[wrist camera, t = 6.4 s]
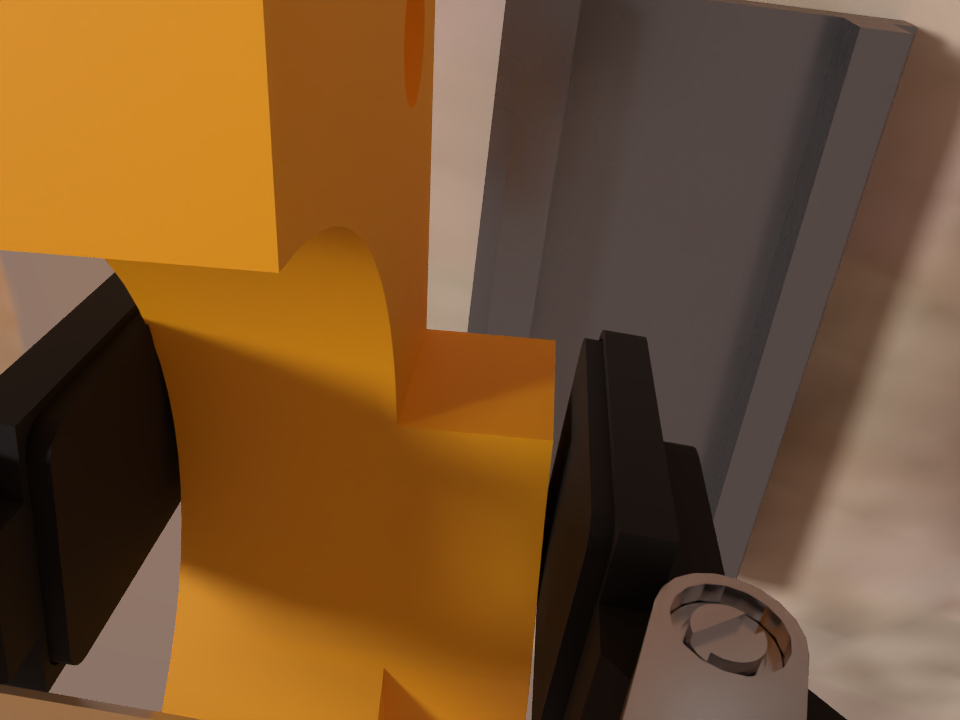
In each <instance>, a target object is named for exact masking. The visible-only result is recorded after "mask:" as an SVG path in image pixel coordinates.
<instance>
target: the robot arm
mask: <svg viewBox="0 0 960 720" xmlns="http://www.w3.org/2000/svg"><path fill="white" fill-rule="evenodd" d="M180 501H181V483H180V470H179V457H178V448H177V441H176V433H175V426H174V420H173V414H172V409H171V404H170V399H169V394H168V390H167V386H166V382H165V379H164V375H163V371H162V367H161V364H160V361H159V358H158V355H157V352H156V349H155V346H154V342H153V337H152V334H151V331H150V327H149V325H147V324H145V322H144V320H143V318H142V315H141V313H140V311H139V309H138V307H137V305H136V304H135V302H134V300H133V299H132V297H131V295H130V293H129V292H128V290H127V288H126V287H125V285H124V283H123V282H122V281H121V279H120V278H119V277H118V275H117V274H116V273H114V274H113V275H111V276H110V277H109V278H108V279H107V280H106V281H105V282H104V283H102V284H101V285H100V286H99V287H98V288H97V289H96V290H95V291H94V292H92V293H91V294H90V295H89V296H88V297H87V298H86V299H85V300H83V301H82V302H81V303H80V304H79V305H78V306H77V307H76V308H75V309H74V310H72V311H71V312H70V313H69V314H68V315H67V316H66V317H65V318H63V319H62V320H61V321H60V322H59V323H58V324H57V325H56V326H55V327H53V328H52V329H51V330H50V331H49V332H48V333H47V334H46V335H44V336H43V337H42V338H41V339H40V340H39V341H38V342H37V343H36V344H34V345H33V346H32V347H31V348H30V349H29V350H28V351H27V352H26V353H24V354H23V355H22V356H21V357H20V358H19V359H18V360H17V361H16V362H14V363H13V364H12V365H11V366H10V367H9V368H8V369H7V370H5V371H4V372H3V373H2V374H1V375H0V720H202V719H196V718H190V717H185V716H179V715H173V714H168V713H162V712H156V711H150V710H145V709H138V708H133V707H128V706H122V705H115V704H110V703H105V702H99V701H93V700H88V699H81V698H76V697H70V696H64V695H59V694H53V693H48V692H49V690H50V689H51V687H52V686H53V684H54V682H55V681H56V679H57V678H58V676H59V674H60V673H61V671H62V670H63V668H64V666H65V665H66V664H70V665H78V664H80V663H81V662H82V661H83V660H84V658H85V657H86V655H87V654H88V652H89V650H90V649H91V647H92V646H93V644H94V642H95V641H96V639H97V637H98V636H99V634H100V632H101V631H102V629H103V628H104V626H105V624H106V623H107V621H108V619H109V618H110V616H111V614H112V613H113V611H114V610H115V608H116V606H117V605H118V603H119V601H120V600H121V598H122V596H123V595H124V593H125V591H126V590H127V588H128V587H129V585H130V583H131V581H132V580H133V578H134V577H135V575H136V574H137V572H138V570H139V569H140V567H141V565H142V564H143V562H144V560H145V559H146V557H147V555H148V554H149V552H150V550H151V549H152V547H153V545H154V544H155V542H156V541H157V539H158V537H159V536H160V534H161V532H162V531H163V529H164V528H165V526H166V524H167V522H168V521H169V519H170V518H171V516H172V514H173V513H174V511H175V509H176V508H177V506H178V505H179V503H180ZM808 676H809V651H808V645H807V640H806V637H805V635H804V633H803V631H802V629H801V628H800V626H799V624H798V622H797V621H796V619H795V618H794V617H793V616H792V615H791V614H790V613H789V612H788V611H787V610H786V609H785V608H784V607H783V606H782V604H781V603H779V602H778V601H777V600H775V599H774V598H772V597H771V596H769V595H768V594H766V593H765V592H764V591H762V590H761V589H759V588H757V587H754V586H752V585H750V584H748V583H746V582H743V581H741V580H739V579H736V578H731V577H727V576H725V573H724V568H723V564H722V559H721V555H720V550H719V546H718V541H717V536H716V532H715V527H714V523H713V518H712V513H711V509H710V504H709V500H708V495H707V491H706V486H705V481H704V477H703V472H702V468H701V463H700V458H699V455H698V452H697V449H696V448H695V447H693V446H689V445H683V444H677V443H672V442H666V441H663V435H662V429H661V423H660V416H659V410H658V404H657V398H656V392H655V386H654V379H653V373H652V367H651V361H650V355H649V349H648V342H647V339H646V337H643V336H637V335H631V334H625V333H620V332H614V331H608V330H602V332H601V334H600V337H599V340H594V339H589V338H584V340H583V343H582V346H581V350H580V354H579V358H578V363H577V367H576V371H575V375H574V380H573V384H572V388H571V392H570V397H569V401H568V405H567V410H566V414H565V418H564V422H563V427H562V431H561V435H560V440H559V444H558V448H557V452H556V457H555V461H554V465H553V469H552V474H551V478H550V482H549V487H548V492H547V502H546V512H545V521H544V531H543V541H542V552H541V562H540V573H539V583H538V594H537V612H536V635H535V657H534V679H533V701H532V720H847V719H845V718H844V717H843V716H842V715H840V714H839V713H838V712H837V711H835V710H834V709H833V708H832V707H830V706H829V705H828V704H827V703H825V702H824V701H823V700H821V699H820V698H819V697H818V696H816V695H815V694H814V693H813V692H811V691H810V690H809V689H808Z"/></svg>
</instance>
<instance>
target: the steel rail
mask: <svg viewBox="0 0 960 720" xmlns="http://www.w3.org/2000/svg"><path fill="white" fill-rule="evenodd" d="M916 29H917V27H916V26H914V25H912V24H910V23H907V22H905V21H901V20H893V19H886V18H878V17H870V16H862V15H854V14H847V13H839V12H831V11H823V10H815V9H808V8H800V7H792V6H784V5H776V4H769V3H761V2H753V1H745V0H506V4H505V13H504V22H503V30H502V39H501V47H500V56H499V65H498V73H497V82H496V91H495V99H494V108H493V117H492V125H491V134H490V142H489V151H488V160H487V168H486V177H485V186H484V194H483V203H482V212H481V220H480V229H479V238H478V246H477V255H476V263H475V272H474V281H473V289H472V298H471V307H470V315H469V324H468V333H477V334H489V335H500V336H512V337H524V338H535V339H547V340H556V350H555V391H554V432H553V447H552V456H551V465H550V474H549V482H550V478H551V474H552V469H553V465H554V461H555V457H556V452H557V448H558V444H559V440H560V435H561V431H562V427H563V422H564V418H565V414H566V410H567V405H568V401H569V397H570V392H571V388H572V384H573V380H574V375H575V371H576V367H577V363H578V358H579V354H580V350H581V346H582V343H583V340H584V338H589V339H594V340H599V337H600V334H601V332H602V330H608V331H614V332H620V333H625V334H631V335H637V336H643V337H646V339H647V342H648V349H649V355H650V361H651V367H652V373H653V379H654V386H655V392H656V398H657V404H658V410H659V416H660V423H661V429H662V435H663V441H666V442H672V443H677V444H683V445H689V446H693V447H695V448H696V449H697V452H698V455H699V458H700V463H701V468H702V472H703V477H704V481H705V486H706V491H707V495H708V500H709V504H710V509H711V513H712V518H713V523H714V527H715V532H716V536H717V541H718V546H719V550H720V555H721V559H722V564H723V568H724V573H725V576H727V577H731V578H736V579H737V576H738V573H739V570H740V566H741V563H742V560H743V557H744V554H745V551H746V548H747V545H748V542H749V539H750V536H751V533H752V530H753V527H754V524H755V521H756V518H757V515H758V512H759V508H760V505H761V502H762V499H763V496H764V493H765V490H766V487H767V484H768V481H769V478H770V475H771V472H772V469H773V466H774V463H775V460H776V457H777V454H778V450H779V447H780V444H781V441H782V438H783V435H784V432H785V429H786V426H787V423H788V420H789V417H790V414H791V411H792V408H793V405H794V402H795V399H796V396H797V392H798V389H799V386H800V383H801V380H802V377H803V374H804V371H805V368H806V365H807V362H808V359H809V356H810V353H811V350H812V347H813V344H814V341H815V338H816V334H817V331H818V328H819V325H820V322H821V319H822V316H823V313H824V310H825V307H826V304H827V301H828V298H829V295H830V292H831V289H832V286H833V283H834V280H835V276H836V273H837V270H838V267H839V264H840V261H841V258H842V255H843V252H844V249H845V246H846V243H847V240H848V237H849V234H850V231H851V228H852V225H853V222H854V218H855V215H856V212H857V209H858V206H859V203H860V200H861V197H862V194H863V191H864V188H865V185H866V182H867V179H868V176H869V173H870V170H871V167H872V164H873V160H874V157H875V154H876V151H877V148H878V145H879V142H880V139H881V136H882V133H883V130H884V127H885V124H886V121H887V118H888V115H889V112H890V109H891V106H892V102H893V99H894V96H895V93H896V90H897V87H898V84H899V81H900V78H901V75H902V72H903V69H904V66H905V63H906V60H907V57H908V54H909V51H910V48H911V44H912V41H913V38H914V35H915V32H916ZM548 487H549V483H548Z"/></svg>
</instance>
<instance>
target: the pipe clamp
mask: <svg viewBox="0 0 960 720" xmlns="http://www.w3.org/2000/svg"><path fill="white" fill-rule="evenodd" d="M434 25H435V0H0V250H9V251H22V252H34V253H45V254H57V255H69V256H81V257H93V258H104V259H105V260H106V261H107V262H108V264H109V265H110V266H111V268H112V269H113V270H114V271H115V273H116V274H117V275H118V277H119V278H120V279H121V281H122V282H123V283H124V285H125V287H126V288H127V290H128V292H129V293H130V295H131V297H132V299H133V300H134V302H135V304H136V305H137V307H138V309H139V311H140V313H141V315H142V318H143V320H144V322H145V324H147V325H149V327H150V331H151V334H152V337H153V342H154V346H155V349H156V352H157V355H158V358H159V361H160V364H161V367H162V371H163V375H164V379H165V382H166V386H167V390H168V394H169V399H170V404H171V409H172V414H173V420H174V426H175V433H176V441H177V448H178V457H179V470H180V483H181V513H182V530H181V531H182V532H181V533H182V534H181V563H180V580H179V595H178V604H177V614H176V624H175V632H174V639H173V647H172V654H171V661H170V667H169V673H168V679H167V685H166V691H165V696H164V702H163V707H162V713H168V714H173V715H179V716H185V717H190V718H196V719H202V720H526V712H527V703H528V693H529V685H530V674H531V662H532V651H533V639H534V627H535V616H536V605H537V594H538V583H539V573H540V562H541V552H542V541H543V531H544V521H545V512H546V502H547V492H548V483H549V474H550V465H551V456H552V447H553V432H554V391H555V350H556V340H547V339H535V338H524V337H512V336H500V335H489V334H477V333H465V332H454V331H442V330H430V329H426V323H427V286H428V249H429V211H430V174H431V137H432V100H433V62H434Z"/></svg>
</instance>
